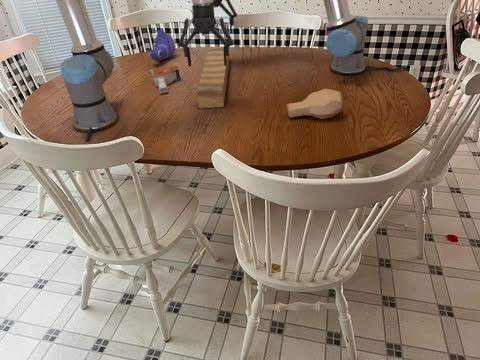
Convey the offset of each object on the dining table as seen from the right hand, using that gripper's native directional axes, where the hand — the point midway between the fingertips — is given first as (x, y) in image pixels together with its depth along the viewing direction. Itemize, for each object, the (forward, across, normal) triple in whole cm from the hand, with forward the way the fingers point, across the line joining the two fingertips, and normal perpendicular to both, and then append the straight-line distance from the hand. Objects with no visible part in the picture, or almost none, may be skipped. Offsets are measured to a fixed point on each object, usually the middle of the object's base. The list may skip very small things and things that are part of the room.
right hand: (217, 34), depth 172 cm
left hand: (0, +1, +45) cm, 45 cm away
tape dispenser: (+14, +24, +24) cm, 37 cm away
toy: (+14, +32, -11) cm, 36 cm away
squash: (+16, -38, +62) cm, 74 cm away
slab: (+15, +1, +22) cm, 27 cm away
